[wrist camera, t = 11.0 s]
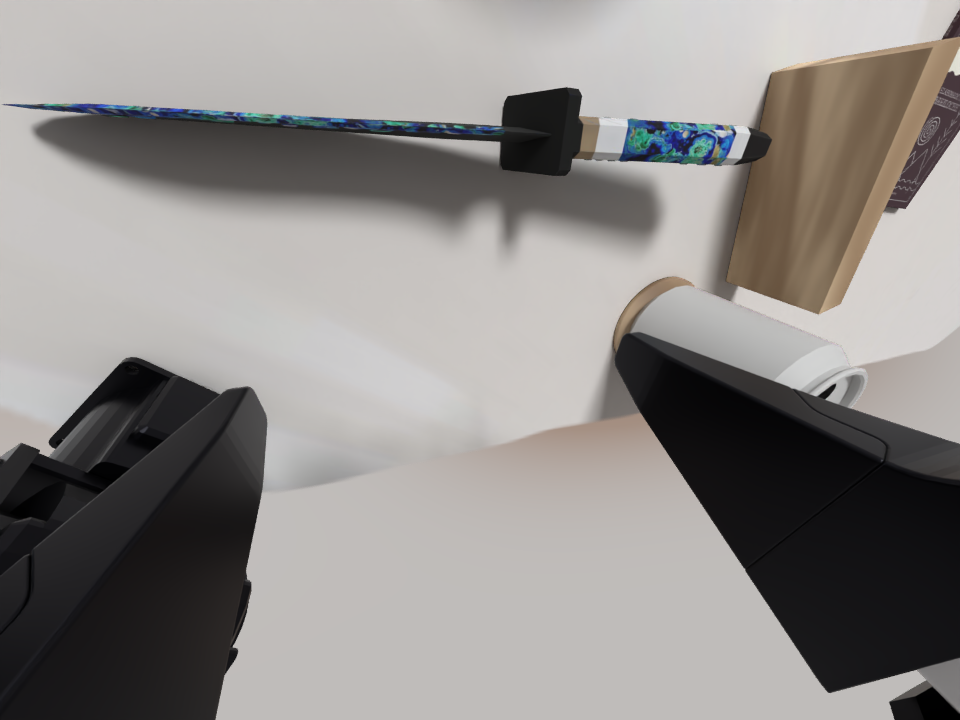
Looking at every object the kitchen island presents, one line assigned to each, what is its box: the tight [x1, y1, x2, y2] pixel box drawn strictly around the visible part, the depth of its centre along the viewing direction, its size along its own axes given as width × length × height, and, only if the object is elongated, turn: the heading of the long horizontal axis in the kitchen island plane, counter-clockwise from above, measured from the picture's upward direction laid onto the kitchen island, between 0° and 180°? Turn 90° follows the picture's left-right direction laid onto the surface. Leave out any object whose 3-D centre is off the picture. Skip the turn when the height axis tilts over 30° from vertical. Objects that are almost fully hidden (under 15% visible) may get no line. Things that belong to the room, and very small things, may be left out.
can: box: [630, 285, 868, 408], centre depth 23 cm, size 8×8×12 cm
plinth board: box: [726, 37, 960, 314], centre depth 22 cm, size 2×14×7 cm, turn 14°
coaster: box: [614, 277, 695, 352], centre depth 28 cm, size 8×8×1 cm
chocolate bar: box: [886, 10, 960, 209], centre depth 26 cm, size 9×1×18 cm
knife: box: [2, 87, 772, 176], centre depth 15 cm, size 31×3×4 cm, turn 84°
